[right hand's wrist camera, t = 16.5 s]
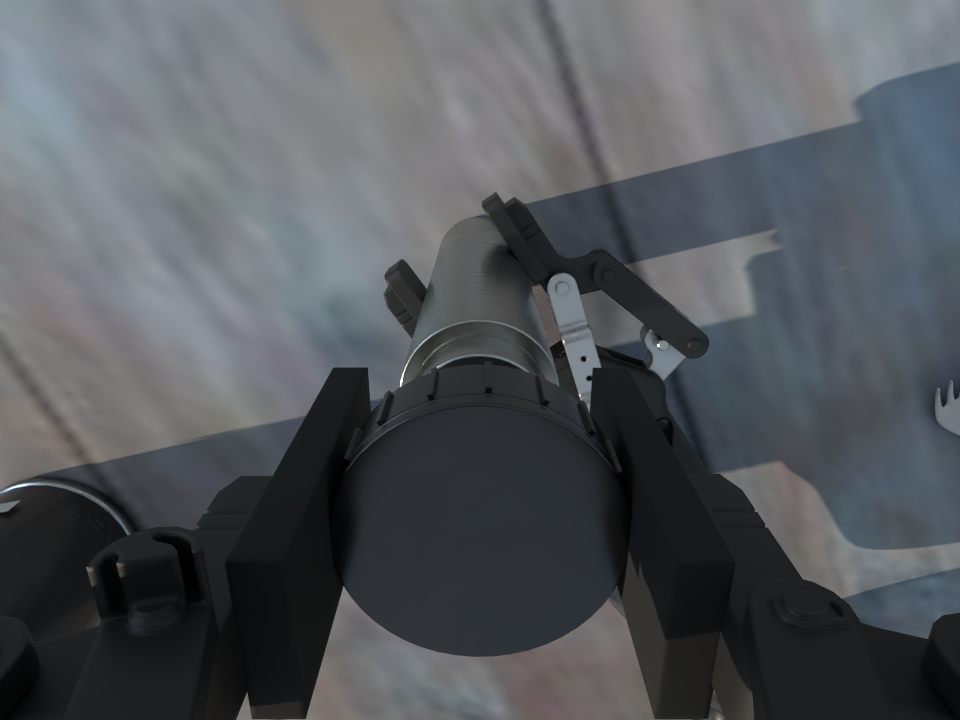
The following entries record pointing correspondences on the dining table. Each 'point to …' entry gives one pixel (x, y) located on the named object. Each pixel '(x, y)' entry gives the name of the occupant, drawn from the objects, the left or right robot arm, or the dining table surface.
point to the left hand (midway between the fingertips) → (442, 235)
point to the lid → (480, 512)
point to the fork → (948, 411)
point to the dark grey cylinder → (478, 308)
